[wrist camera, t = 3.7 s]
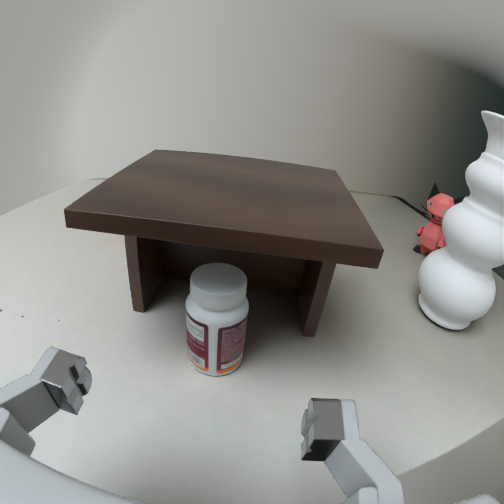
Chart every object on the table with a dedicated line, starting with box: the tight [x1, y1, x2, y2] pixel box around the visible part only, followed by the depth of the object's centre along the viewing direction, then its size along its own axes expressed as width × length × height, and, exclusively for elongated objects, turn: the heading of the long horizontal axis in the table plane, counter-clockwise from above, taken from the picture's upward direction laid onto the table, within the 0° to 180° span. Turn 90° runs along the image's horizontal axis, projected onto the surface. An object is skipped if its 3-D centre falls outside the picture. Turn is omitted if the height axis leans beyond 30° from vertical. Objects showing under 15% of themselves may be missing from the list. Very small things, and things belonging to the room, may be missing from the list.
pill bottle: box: [185, 263, 249, 376], centre depth 24 cm, size 5×5×8 cm
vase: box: [418, 111, 504, 330], centre depth 28 cm, size 11×11×25 cm
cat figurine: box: [413, 183, 464, 254], centre depth 46 cm, size 7×7×12 cm
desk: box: [64, 150, 384, 337], centre depth 26 cm, size 16×18×14 cm
